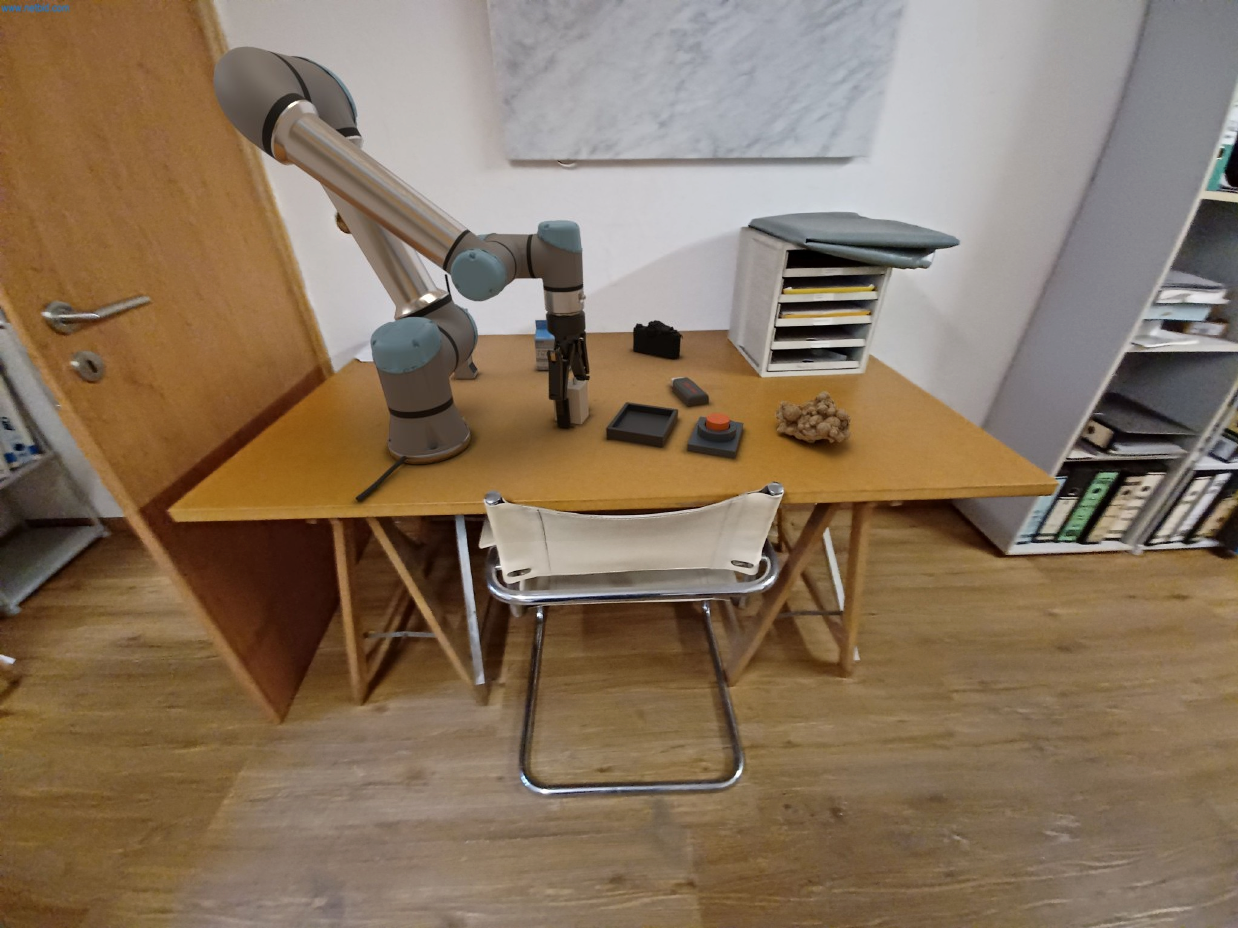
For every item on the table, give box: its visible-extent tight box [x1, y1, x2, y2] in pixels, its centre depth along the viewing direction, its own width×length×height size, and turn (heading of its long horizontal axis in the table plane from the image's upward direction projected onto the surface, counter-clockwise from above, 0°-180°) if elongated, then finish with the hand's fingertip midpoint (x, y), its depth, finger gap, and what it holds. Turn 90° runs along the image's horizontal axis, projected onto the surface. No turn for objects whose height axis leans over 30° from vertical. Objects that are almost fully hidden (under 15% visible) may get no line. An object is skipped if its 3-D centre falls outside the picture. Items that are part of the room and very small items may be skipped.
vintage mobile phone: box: [444, 273, 479, 380], centre depth 121 cm, size 4×5×25 cm
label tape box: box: [534, 319, 572, 371], centre depth 128 cm, size 9×4×12 cm, turn 88°
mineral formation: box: [773, 390, 852, 444], centre depth 97 cm, size 8×13×15 cm
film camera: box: [632, 319, 684, 360], centre depth 140 cm, size 15×10×9 cm, turn 58°
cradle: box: [605, 401, 679, 449], centre depth 102 cm, size 13×12×2 cm
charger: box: [553, 376, 590, 425], centre depth 105 cm, size 4×6×9 cm
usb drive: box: [670, 376, 710, 408], centre depth 116 cm, size 5×12×3 cm, turn 18°
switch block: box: [686, 416, 745, 460], centre depth 98 cm, size 12×9×4 cm
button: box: [706, 412, 731, 431], centre depth 97 cm, size 4×4×2 cm
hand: (572, 417), depth 107 cm, fingers open, 8 cm apart
